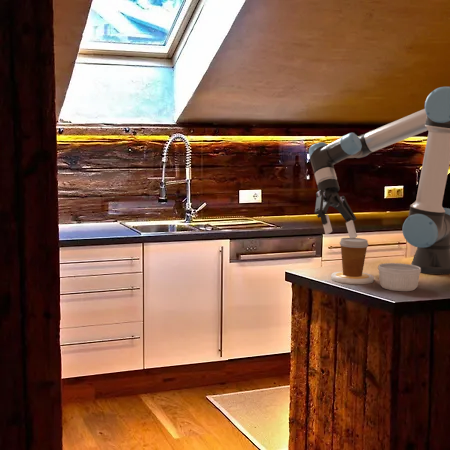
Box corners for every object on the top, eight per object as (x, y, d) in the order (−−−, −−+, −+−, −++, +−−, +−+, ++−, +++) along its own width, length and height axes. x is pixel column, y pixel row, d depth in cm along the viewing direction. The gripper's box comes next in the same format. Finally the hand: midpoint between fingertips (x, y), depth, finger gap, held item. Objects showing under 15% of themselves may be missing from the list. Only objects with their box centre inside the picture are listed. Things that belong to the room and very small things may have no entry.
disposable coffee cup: (344, 278, 228) (345, 241, 227) (334, 272, 237) (335, 237, 236) (371, 277, 230) (373, 241, 228) (360, 272, 239) (362, 237, 238)
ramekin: (395, 281, 232) (396, 261, 232) (428, 289, 222) (429, 267, 221) (368, 286, 225) (369, 265, 224) (401, 294, 214) (402, 271, 213)
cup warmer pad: (352, 274, 243) (352, 269, 243) (382, 281, 232) (382, 276, 232) (322, 278, 236) (322, 273, 235) (351, 285, 224) (352, 281, 224)
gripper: (341, 193, 265) (355, 244, 256) (296, 181, 248) (310, 235, 240) (356, 184, 260) (371, 235, 251) (311, 171, 244) (326, 225, 235)
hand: (341, 235), depth 246 cm, fingers open, 13 cm apart
